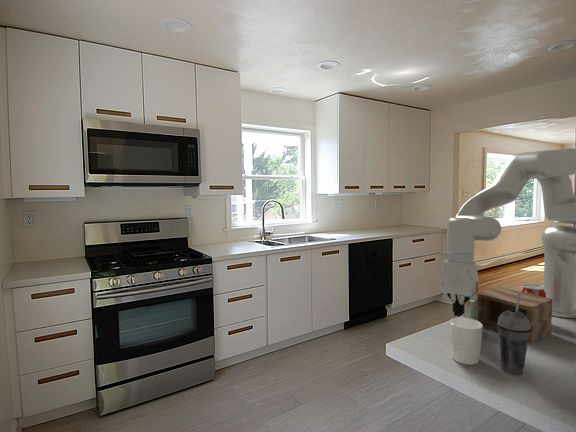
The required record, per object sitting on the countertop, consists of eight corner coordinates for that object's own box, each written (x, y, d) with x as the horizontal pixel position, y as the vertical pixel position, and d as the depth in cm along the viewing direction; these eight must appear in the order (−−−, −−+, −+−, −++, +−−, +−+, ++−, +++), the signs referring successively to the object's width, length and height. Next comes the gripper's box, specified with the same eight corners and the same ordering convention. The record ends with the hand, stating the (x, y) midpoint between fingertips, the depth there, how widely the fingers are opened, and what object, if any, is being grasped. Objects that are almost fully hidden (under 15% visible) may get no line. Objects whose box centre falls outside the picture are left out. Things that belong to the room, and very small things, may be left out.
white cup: (478, 354, 97) (479, 319, 97) (484, 368, 90) (485, 330, 89) (447, 350, 100) (448, 316, 99) (450, 363, 93) (451, 326, 92)
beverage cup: (488, 364, 92) (491, 289, 90) (515, 362, 92) (518, 288, 91) (508, 379, 85) (511, 298, 83) (537, 377, 85) (540, 297, 83)
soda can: (549, 325, 115) (550, 290, 114) (525, 324, 117) (526, 289, 116) (538, 318, 122) (540, 284, 121) (516, 316, 124) (517, 283, 123)
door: (476, 324, 116) (477, 293, 115) (469, 342, 103) (470, 308, 102) (469, 322, 118) (470, 292, 117) (461, 341, 104) (462, 307, 103)
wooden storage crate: (498, 317, 123) (499, 286, 122) (550, 333, 110) (552, 299, 109) (476, 325, 117) (477, 293, 116) (530, 343, 103) (531, 307, 102)
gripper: (430, 256, 111) (429, 312, 113) (482, 262, 101) (480, 325, 102) (440, 252, 116) (439, 306, 118) (490, 258, 106) (488, 317, 107)
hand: (458, 315), depth 110 cm, fingers closed
